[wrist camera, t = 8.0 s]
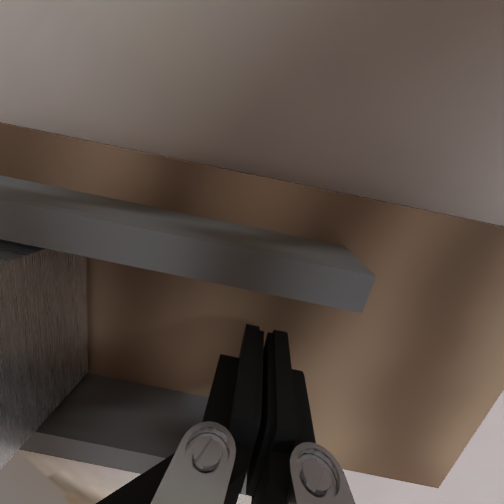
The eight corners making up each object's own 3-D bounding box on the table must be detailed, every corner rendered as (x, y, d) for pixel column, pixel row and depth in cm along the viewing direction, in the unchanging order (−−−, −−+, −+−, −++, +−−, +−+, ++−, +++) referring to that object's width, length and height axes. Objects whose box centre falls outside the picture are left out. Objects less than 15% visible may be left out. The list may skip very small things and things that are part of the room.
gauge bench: (553, 236, 11) (1129, 366, 4) (422, 458, 15) (561, 716, 8) (-209, 79, 11) (-1203, -115, 3) (-120, 348, 15) (-476, 511, 8)
